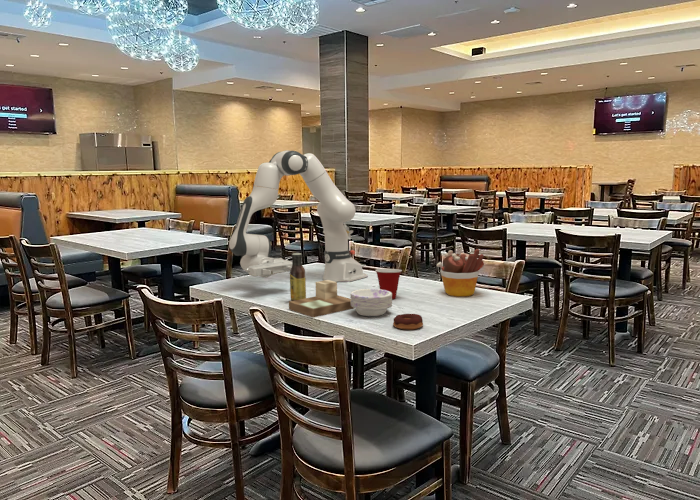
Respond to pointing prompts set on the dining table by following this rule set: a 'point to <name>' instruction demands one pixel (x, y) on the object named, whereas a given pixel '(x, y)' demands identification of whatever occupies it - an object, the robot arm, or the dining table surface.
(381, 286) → the plastic cup
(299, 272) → the sauce bottle
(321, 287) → the birch cube
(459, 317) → the dining table surface
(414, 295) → the dining table surface
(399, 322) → the donut
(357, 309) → the paper bowls
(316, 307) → the walnut board
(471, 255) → the bucket of meat
